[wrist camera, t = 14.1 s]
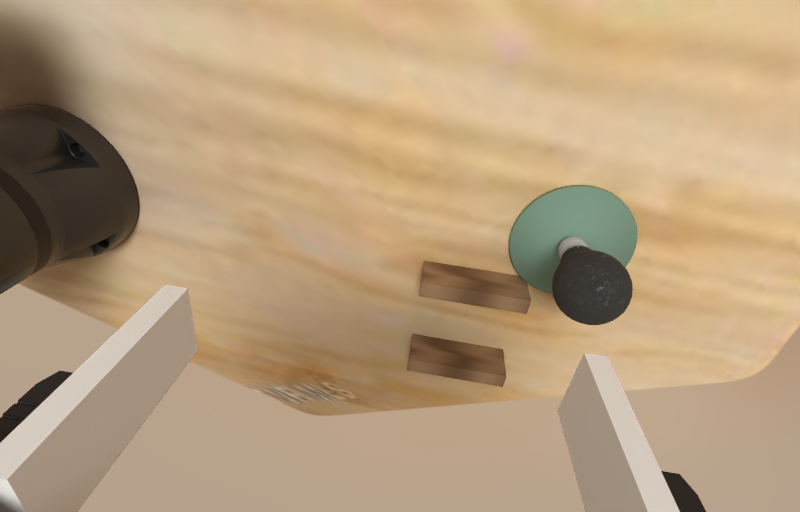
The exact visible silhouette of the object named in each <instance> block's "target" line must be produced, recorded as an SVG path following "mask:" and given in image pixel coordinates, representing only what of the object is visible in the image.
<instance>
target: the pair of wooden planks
mask: <svg viewBox="0 0 800 512" xmlns="http://www.w3.org/2000/svg"><path fill="white" fill-rule="evenodd" d="M419 296H422V297H428V298H434V299H440V300H446V301H452V302H458V303H464V304H470V305H476V306H482V307H488V308H494V309H500V310H506V311H512V312H518V313H524V314H527V311H528V308H529V305H530V302H531V299H530V295H529V291H528V286H527V282H526V280H524V279H523V278H522V277H521V276H515V275H509V274H502V273H496V272H490V271H484V270H478V269H471V268H465V267H459V266H453V265H447V264H440V263H434V262H428V261H424V267H423V273H422V280H421V286H420V292H419ZM407 370H410V371H416V372H421V373H427V374H433V375H438V376H444V377H450V378H455V379H461V380H467V381H472V382H478V383H484V384H489V385H495V386H500V387H503V385H504V381H505V378H506V371H505V363H504V355H503V350H502V349H496V348H490V347H484V346H479V345H473V344H467V343H461V342H455V341H449V340H444V339H438V338H432V337H426V336H420V335H414V334H413V335H412V341H411V347H410V354H409V360H408V366H407Z"/></svg>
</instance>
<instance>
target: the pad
mask: <svg viewBox="0 0 800 512" xmlns="http://www.w3.org/2000/svg"><path fill="white" fill-rule="evenodd" d="M569 237H578V238H581V239H582V240H583V241H584V242H585V243H586V244H587V245H588V247H589V248H590V249H591V250H595V251H600V252H603V253H606V254H609V255H611V256H612V257H614V258H615V259H617V260H618V261H619V262H620V263H621V264H622V265H623V266H624V267H626V265H627V264H628V262H629V261H630V259H631V257H632V255H633V253H634V250H635V248H636V243H637V226H636V222H635V219H634V217H633V215H632V213H631V211H630V210H629V208H628V207H627V206H626V205H625V204H624V203H623V202H622V201H621V200H620V199H619V198H618V197H617V196H615V195H614V194H612V193H610V192H609V191H607V190H604V189H601V188H598V187H594V186H587V185H572V186H565V187H561V188H557V189H554V190H552V191H549V192H547V193H545V194H543V195H541V196H539V197H538V198H536V199H535V200H534V201H532V202H531V203H530V204H529V205H528V206H527V207H526V208H525V209H524V210H523V211H522V212H521V213H520V215H519V216H518V218H517V219H516V221H515V223H514V225H513V228H512V231H511V234H510V239H509V249H510V256H511V260H512V263H513V265H514V267H515V269H516V271H517V272H518V274H519V275H520V276H521V277H522V278H523V279H524V280H526V282H527V283H529V284H530V285H532V286H533V287H535V288H537V289H539V290H542V291H544V292H548V293H552V281H553V276H554V273H555V271H556V269H557V267H558V266H559V264H560V257H559V254H558V248H559V245H560V243H561V242H562V241H563V240H565V239H567V238H569ZM552 294H553V293H552Z"/></svg>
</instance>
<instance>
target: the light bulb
mask: <svg viewBox="0 0 800 512" xmlns="http://www.w3.org/2000/svg"><path fill="white" fill-rule="evenodd" d="M558 254H559V257H560V264H559V266H558V267H557V269H556V271H555V273H554V276H553V281H552V293H553V296H554V299H555V302H556V304H557V305H558V307H559V308H560V310H561V311H562V312H563V313H564V314H565V315H567V316H568V317H569V318H571V319H572V320H575V321H577V322H579V323H583V324H588V325H600V324H604V323H607V322H610V321H613V320H614V319H616V318H618V317H619V316H620V315H621V314H622V313H624V311H625V310H626V309H627V307H628V305H629V303H630V300H631V298H632V281H631V278H630V275H629V273H628V271H627V269H626V268H625V267H624V266H623V265H622V264H621V263H620V262H619V261H618V260H617V259H615V258H614V257H612V256H611V255H609V254H606V253H603V252H600V251H595V250H591V249H590V248H589V247H588V245H587V244H586V243H585V242H584V241H583V240H582V239H581V238H578V237H569V238H567V239H565V240H563V241H562V242H561V243H560V245H559V248H558Z"/></svg>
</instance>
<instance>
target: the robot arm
mask: <svg viewBox="0 0 800 512" xmlns="http://www.w3.org/2000/svg"><path fill="white" fill-rule="evenodd" d="M138 210H139V206H138V196H137V192H136V188H135V185H134V182H133V179H132V177H131V175H130V173H129V171H128V169H127V167H126V165H125V163H124V162H123V160H122V159H121V157H120V156H119V155H118V153H117V152H116V151H115V149H114V148H113V147H112V146H111V145H110V144H109V142H108V141H107V140H106V139H105V138H104V137H103V136H102V135H100V134H99V133H98V132H97V131H96V130H95V129H93V128H92V127H91V126H89V125H88V124H87V123H85V122H84V121H82V120H81V119H79V118H77V117H75V116H74V115H72V114H70V113H67V112H65V111H63V110H60V109H57V108H54V107H50V106H46V105H38V104H28V105H21V106H16V107H11V108H6V109H2V110H0V294H1V293H3V292H4V291H6V290H8V289H9V288H11V287H13V286H14V285H16V284H18V283H19V282H21V281H22V280H24V279H26V278H27V277H29V276H30V275H32V274H34V273H35V272H37V271H39V270H41V269H42V268H44V267H48V266H53V265H57V264H62V263H66V262H70V261H75V260H79V259H84V258H88V257H92V256H96V255H99V254H102V253H104V252H106V251H108V250H110V249H111V248H113V247H114V246H116V245H117V244H119V243H120V242H122V241H123V240H125V239H126V238H127V237H128V236H129V235H130V234H131V232H132V231H133V229H134V227H135V225H136V222H137V218H138ZM197 351H198V350H197V344H196V337H195V331H194V324H193V318H192V311H191V305H190V298H189V292H188V288H182V287H176V286H169V285H165V286H164V287H163V288H162V289H160V290H159V291H158V292H157V293H156V294H155V295H154V296H153V297H152V298H151V299H150V300H149V301H148V302H147V303H146V304H145V305H144V306H143V307H142V308H141V309H140V310H139V311H137V312H136V313H135V314H134V315H133V316H132V317H131V318H130V319H129V320H128V321H127V322H126V323H125V324H124V325H123V326H122V327H121V328H120V329H119V330H118V331H117V332H116V333H115V334H113V335H112V336H111V337H110V338H109V339H108V340H107V341H106V342H105V343H104V344H103V345H102V346H101V347H100V348H99V349H98V350H97V351H96V352H95V353H94V354H93V355H92V356H90V357H89V359H87V360H86V361H85V362H84V363H83V364H82V365H81V366H80V367H79V368H78V369H77V370H76V371H75V372H74V373H70V372H64V371H58V372H57V373H55V374H53V375H51V376H50V377H48V378H46V379H44V380H42V381H41V382H39V383H37V384H36V385H35V386H34V387H32V388H31V389H30V390H29V391H28V392H27V393H26V394H25V395H24V396H23V397H21V398H20V399H19V400H18V403H17V404H14V405H12V406H11V407H10V408H9V409H8V410H7V411H6V412H5V413H3V416H2V417H1V418H0V512H78V510H79V509H80V508H81V506H82V505H83V504H84V502H85V501H86V500H87V498H88V497H89V496H90V494H91V493H92V492H93V490H94V489H95V488H96V486H97V485H98V484H99V482H100V481H101V480H102V478H103V477H104V475H105V474H106V473H107V472H108V470H109V469H110V467H111V466H112V465H113V463H114V462H115V461H116V459H117V458H118V457H119V455H120V454H121V453H122V451H123V450H124V449H125V447H126V446H127V445H128V443H129V442H130V440H131V439H132V438H133V437H134V435H135V434H136V433H137V431H138V430H139V428H140V427H141V425H142V424H143V423H144V422H145V420H146V419H147V418H148V416H149V415H150V414H151V412H152V411H153V410H154V408H155V407H156V406H157V404H158V403H159V402H160V400H161V399H162V397H163V396H164V395H165V394H166V392H167V391H168V390H169V388H170V387H171V386H172V384H173V383H174V381H175V380H176V379H177V377H178V376H179V375H180V373H181V372H182V371H183V369H184V368H185V367H186V365H187V364H188V363H189V361H190V360H191V359H192V357H193V356H194V355H195V353H196V352H197ZM558 414H559V417H560V421H561V424H562V428H563V432H564V436H565V439H566V442H567V446H568V450H569V454H570V457H571V460H572V464H573V468H574V472H575V475H576V479H577V483H578V486H579V490H580V493H581V497H582V500H583V504H584V508H585V511H586V512H706V511H705V509H704V507H703V505H702V503H701V501H700V499H699V497H698V495H697V494H696V493H695V492H694V490H693V489H692V488H691V487H690V486H689V485H688V484H687V482H686V481H685V480H684V479H683V478H682V477H681V475H680V474H675V473H669V472H663V471H661V470H660V468H659V466H658V464H657V462H656V459H655V457H654V455H653V453H652V451H651V449H650V447H649V444H648V442H647V440H646V438H645V436H644V434H643V431H642V430H641V427H640V425H639V423H638V421H637V419H636V416H635V414H634V412H633V410H632V408H631V406H630V404H629V401H628V399H627V397H626V395H625V393H624V391H623V388H622V386H621V384H620V382H619V380H618V378H617V376H616V373H615V371H614V369H613V367H612V365H611V363H610V361H609V358H608V357H605V356H599V355H592V354H586V353H584V355H583V357H582V359H581V361H580V363H579V365H578V368H577V370H576V372H575V374H574V376H573V378H572V380H571V383H570V385H569V387H568V389H567V391H566V393H565V396H564V398H563V400H562V402H561V404H560V406H559V408H558Z"/></svg>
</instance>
